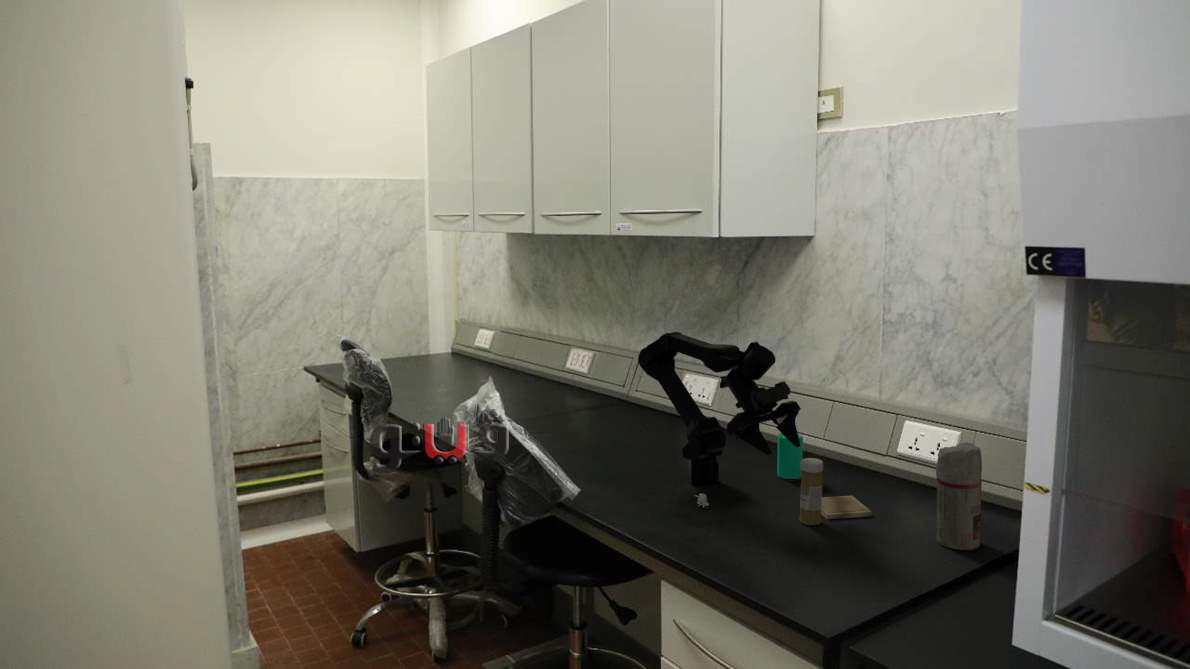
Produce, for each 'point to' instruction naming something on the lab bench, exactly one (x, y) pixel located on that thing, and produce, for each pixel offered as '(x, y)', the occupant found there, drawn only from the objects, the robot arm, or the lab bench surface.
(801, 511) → the sprinkles bottle
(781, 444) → the candle
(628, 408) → the lab bench surface
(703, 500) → the small grey figurine
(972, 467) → the spray can
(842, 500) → the rest pad
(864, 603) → the lab bench surface
